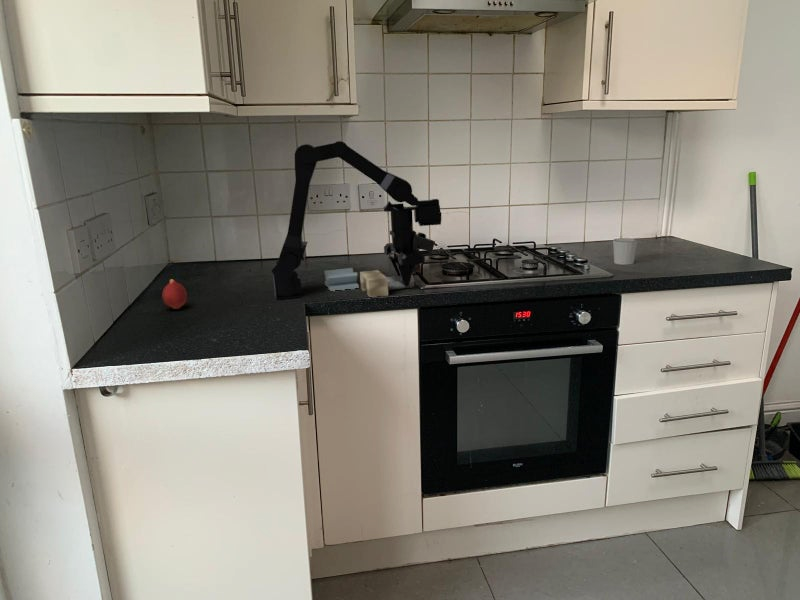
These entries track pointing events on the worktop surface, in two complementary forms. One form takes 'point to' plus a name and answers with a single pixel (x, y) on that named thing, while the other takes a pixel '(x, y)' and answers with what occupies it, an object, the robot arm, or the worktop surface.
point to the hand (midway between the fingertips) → (405, 284)
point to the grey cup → (624, 250)
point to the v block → (341, 279)
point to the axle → (398, 283)
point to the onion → (174, 295)
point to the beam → (374, 283)
